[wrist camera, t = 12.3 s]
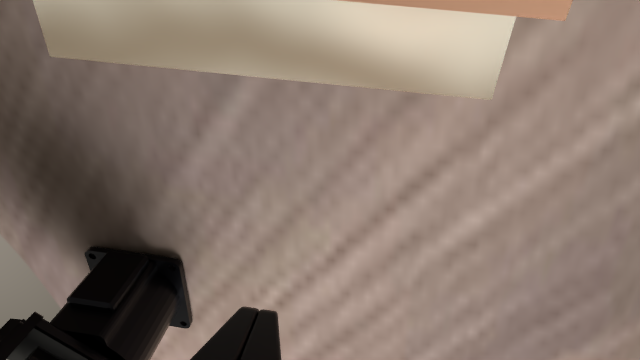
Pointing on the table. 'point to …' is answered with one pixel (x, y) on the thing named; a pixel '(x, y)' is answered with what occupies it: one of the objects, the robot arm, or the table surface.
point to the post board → (289, 41)
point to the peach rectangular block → (490, 6)
